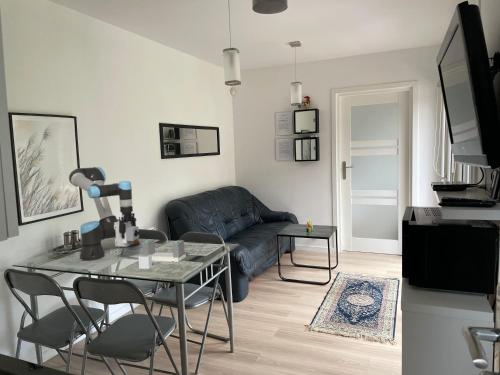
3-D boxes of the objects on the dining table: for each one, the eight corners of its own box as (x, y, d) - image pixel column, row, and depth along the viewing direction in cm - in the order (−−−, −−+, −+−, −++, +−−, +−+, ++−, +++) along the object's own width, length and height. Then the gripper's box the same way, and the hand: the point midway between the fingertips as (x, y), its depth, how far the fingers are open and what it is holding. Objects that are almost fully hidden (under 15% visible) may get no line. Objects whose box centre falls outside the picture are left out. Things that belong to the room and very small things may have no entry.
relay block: (139, 268, 223) (138, 256, 222) (142, 266, 228) (141, 253, 227) (149, 268, 222) (148, 255, 222) (152, 266, 227) (151, 253, 227)
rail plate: (142, 260, 241) (140, 241, 239) (151, 255, 251) (149, 237, 250) (178, 261, 234) (176, 242, 233) (185, 256, 244) (184, 238, 243)
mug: (126, 242, 292) (124, 216, 290) (144, 241, 292) (143, 215, 290) (116, 248, 273) (114, 221, 271) (136, 247, 272) (134, 220, 271)
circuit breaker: (136, 246, 237) (134, 223, 236) (115, 246, 240) (113, 222, 238) (141, 243, 245) (140, 220, 243) (121, 243, 248) (120, 220, 246)
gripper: (121, 208, 229) (124, 246, 231) (140, 203, 248) (142, 237, 251) (110, 208, 231) (113, 245, 233) (130, 203, 250) (132, 237, 253)
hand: (128, 241), depth 242 cm, fingers closed on circuit breaker, 8 cm apart
